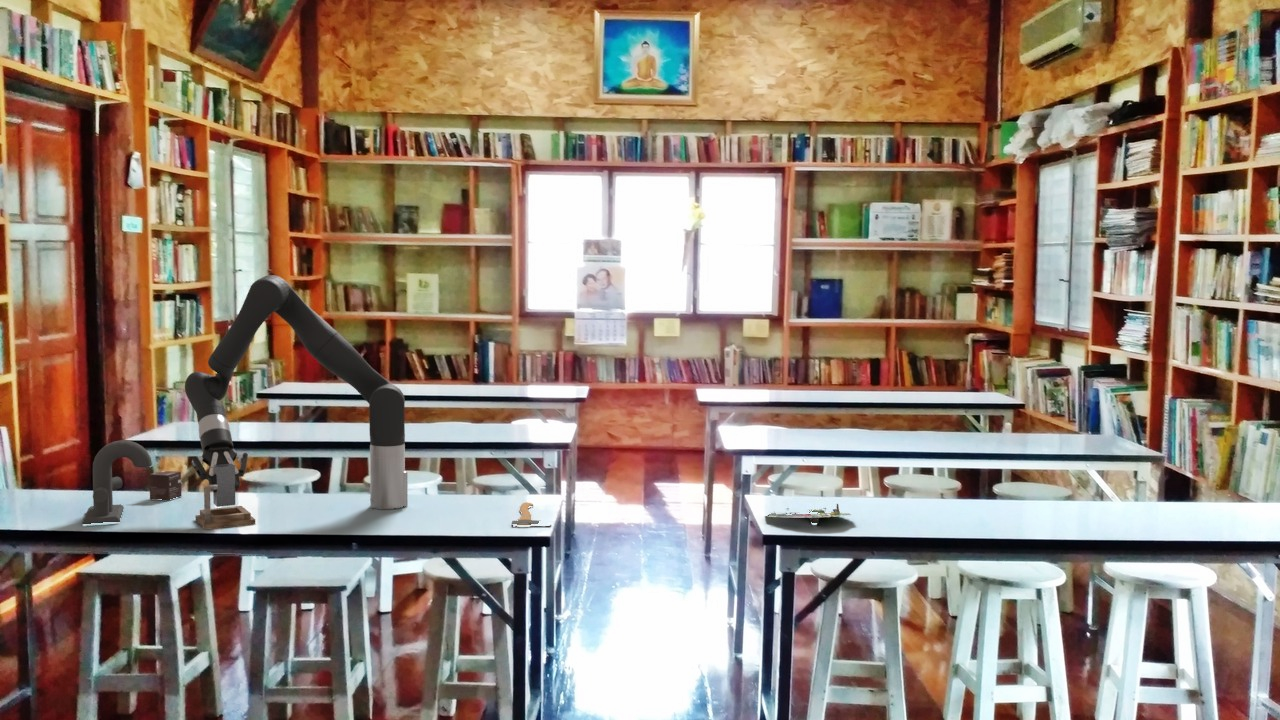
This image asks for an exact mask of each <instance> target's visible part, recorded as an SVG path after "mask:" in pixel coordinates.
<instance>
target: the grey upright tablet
mask: <svg viewBox="0 0 1280 720" xmlns="http://www.w3.org/2000/svg"><path fill="white" fill-rule="evenodd" d="M235 467H236V465H235V466H234V465H233V464H216V465H214V476H215V478H216V484H217V485H218V489H217V492H215V493H213V495H212V496H213V499H212V500H213V501H212V502H213V505H215V506H216V508H221V507H231V506H236V491H235Z"/></svg>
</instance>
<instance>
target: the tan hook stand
mask: <svg viewBox="0 0 1280 720" xmlns="http://www.w3.org/2000/svg"><path fill="white" fill-rule="evenodd" d="M529 506H533V507H534V504H533V503H531V502H526V501H525V502H522V504H521V505H520V506H519V508H520V511H521V512H522V515H520V517H518V519H517V520H518V521H517V520H512V522H511V525H512V524H517V525H531V524H538V523H539V521H540V520H537V519H536V520H533V519H532V520H531V516H532V514H530V513H531V512H530V511H529V509H528V507H529Z"/></svg>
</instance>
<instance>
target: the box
mask: <svg viewBox="0 0 1280 720" xmlns="http://www.w3.org/2000/svg"><path fill="white" fill-rule="evenodd" d="M181 473H182V471H175V470H174V471H172V470H170V471H169V470H163V471H157V472H156V471H155V472H154V473H153V472H152V473H150V474H149V500H150V499H162V500H161V501H163V500H170V499H173V498H176V497H179V496H181V497H182V474H181ZM179 498H180V497H179ZM173 500H174V499H173ZM170 501H171V500H170Z"/></svg>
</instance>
